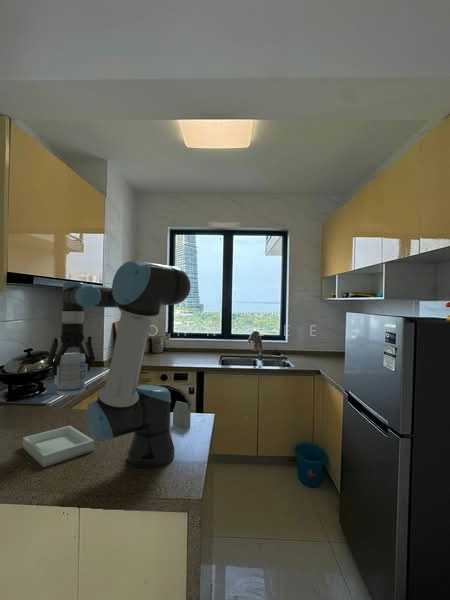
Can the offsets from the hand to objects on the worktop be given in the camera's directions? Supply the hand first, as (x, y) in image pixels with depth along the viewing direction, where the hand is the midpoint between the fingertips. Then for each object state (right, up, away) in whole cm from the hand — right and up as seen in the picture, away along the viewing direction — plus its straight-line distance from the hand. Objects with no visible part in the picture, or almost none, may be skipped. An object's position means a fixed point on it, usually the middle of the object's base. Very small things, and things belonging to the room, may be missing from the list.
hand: (71, 382), depth 119 cm
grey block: (+40, -23, +14) cm, 48 cm away
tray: (0, -21, -10) cm, 23 cm away
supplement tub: (0, -4, 0) cm, 4 cm away
